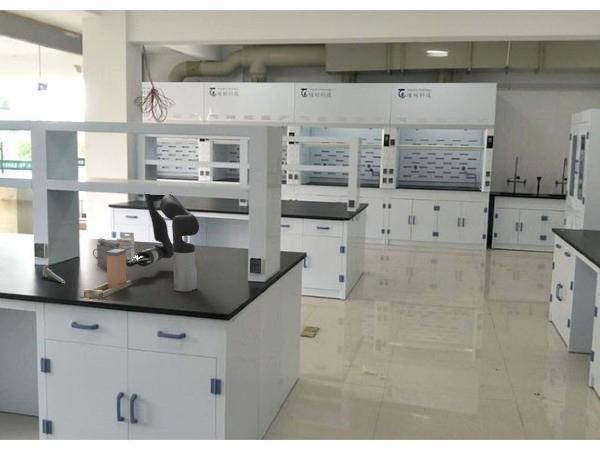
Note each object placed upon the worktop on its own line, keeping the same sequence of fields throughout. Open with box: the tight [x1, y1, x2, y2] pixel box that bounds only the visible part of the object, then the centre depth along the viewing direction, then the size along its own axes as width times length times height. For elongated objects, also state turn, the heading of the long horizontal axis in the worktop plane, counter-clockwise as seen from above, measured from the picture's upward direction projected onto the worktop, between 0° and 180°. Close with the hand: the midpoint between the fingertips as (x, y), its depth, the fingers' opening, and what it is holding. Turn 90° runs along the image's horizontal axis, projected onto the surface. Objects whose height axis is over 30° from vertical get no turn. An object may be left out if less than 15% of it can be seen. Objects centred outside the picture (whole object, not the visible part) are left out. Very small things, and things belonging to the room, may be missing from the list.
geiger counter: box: [92, 237, 121, 268], centre depth 310 cm, size 14×6×25 cm
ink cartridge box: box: [116, 231, 136, 261], centre depth 328 cm, size 9×5×15 cm, turn 84°
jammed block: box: [106, 249, 127, 289], centre depth 265 cm, size 5×7×16 cm
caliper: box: [42, 264, 67, 285], centre depth 279 cm, size 20×1×6 cm, turn 49°
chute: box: [79, 279, 133, 301], centre depth 259 cm, size 12×24×4 cm, turn 166°
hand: (128, 264), depth 275 cm, fingers closed
